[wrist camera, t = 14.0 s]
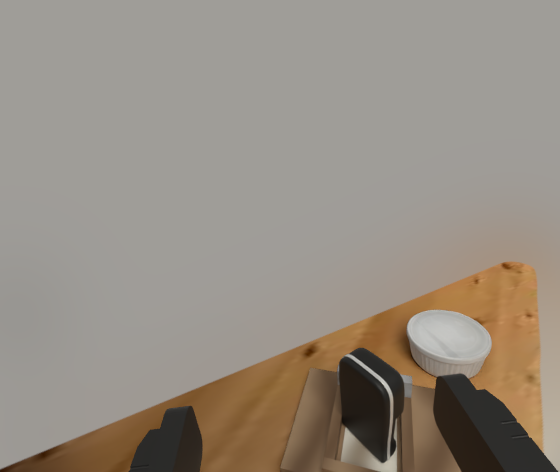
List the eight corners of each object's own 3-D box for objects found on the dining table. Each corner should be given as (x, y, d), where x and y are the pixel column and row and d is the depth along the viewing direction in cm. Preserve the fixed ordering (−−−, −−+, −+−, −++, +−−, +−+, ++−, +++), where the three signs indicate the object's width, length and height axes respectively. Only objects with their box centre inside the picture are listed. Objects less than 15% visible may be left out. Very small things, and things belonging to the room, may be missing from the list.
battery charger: (406, 446, 37) (412, 372, 32) (384, 468, 35) (387, 393, 31) (360, 405, 42) (359, 337, 38) (339, 422, 41) (336, 352, 36)
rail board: (281, 474, 37) (276, 444, 35) (311, 373, 50) (308, 347, 48) (468, 528, 31) (475, 496, 29) (447, 397, 44) (451, 369, 42)
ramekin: (393, 364, 50) (395, 338, 48) (420, 325, 57) (422, 301, 55) (475, 402, 43) (480, 373, 41) (493, 352, 50) (499, 325, 48)
